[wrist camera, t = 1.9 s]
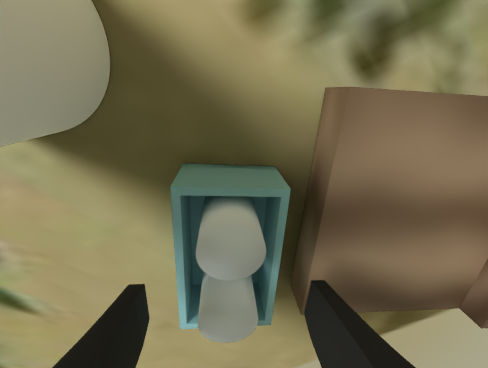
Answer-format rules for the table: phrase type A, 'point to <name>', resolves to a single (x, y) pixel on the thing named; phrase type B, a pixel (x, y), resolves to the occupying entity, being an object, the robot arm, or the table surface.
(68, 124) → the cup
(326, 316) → the robot arm
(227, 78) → the table surface
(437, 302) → the brown flat block
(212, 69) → the table surface
